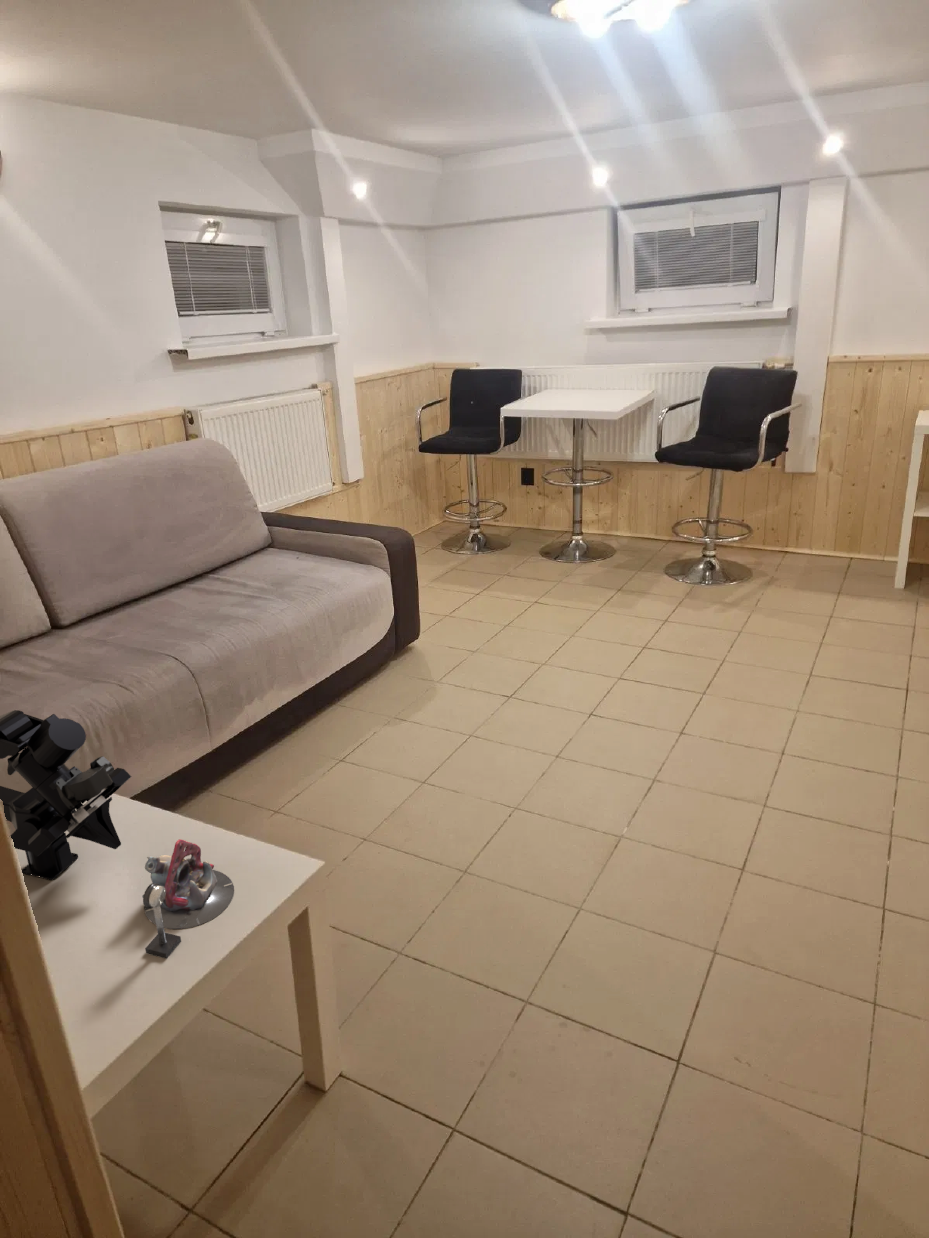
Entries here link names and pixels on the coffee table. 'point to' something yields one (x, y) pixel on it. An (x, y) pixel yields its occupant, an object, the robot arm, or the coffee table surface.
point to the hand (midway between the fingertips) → (118, 846)
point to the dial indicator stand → (159, 923)
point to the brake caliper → (182, 877)
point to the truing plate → (199, 916)
